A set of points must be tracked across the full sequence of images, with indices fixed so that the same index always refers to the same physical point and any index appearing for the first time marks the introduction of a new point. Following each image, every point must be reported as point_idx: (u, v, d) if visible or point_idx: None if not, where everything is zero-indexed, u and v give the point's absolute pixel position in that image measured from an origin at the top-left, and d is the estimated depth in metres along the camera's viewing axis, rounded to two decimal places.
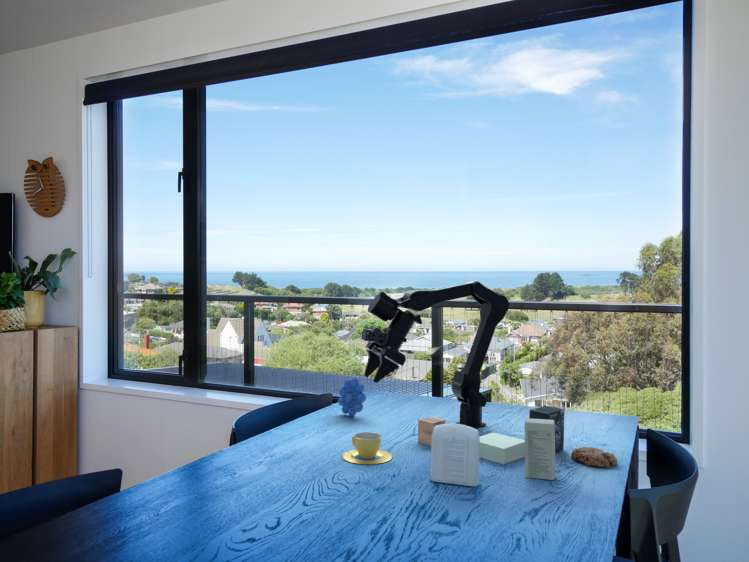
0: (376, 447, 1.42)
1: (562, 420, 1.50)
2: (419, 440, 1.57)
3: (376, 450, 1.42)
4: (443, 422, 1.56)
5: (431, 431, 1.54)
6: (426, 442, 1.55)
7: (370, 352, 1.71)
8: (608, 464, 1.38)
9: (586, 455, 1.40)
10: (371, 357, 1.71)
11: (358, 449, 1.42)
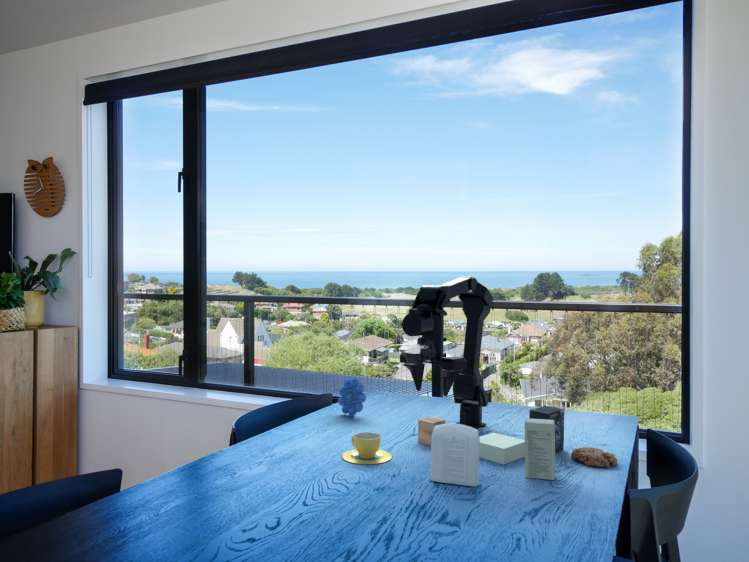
0: (376, 447, 1.42)
1: (562, 420, 1.50)
2: (419, 440, 1.57)
3: (376, 450, 1.42)
4: (443, 422, 1.56)
5: (431, 431, 1.54)
6: (426, 442, 1.55)
7: (412, 366, 1.59)
8: (608, 464, 1.38)
9: (586, 455, 1.40)
10: (414, 370, 1.60)
11: (358, 449, 1.42)
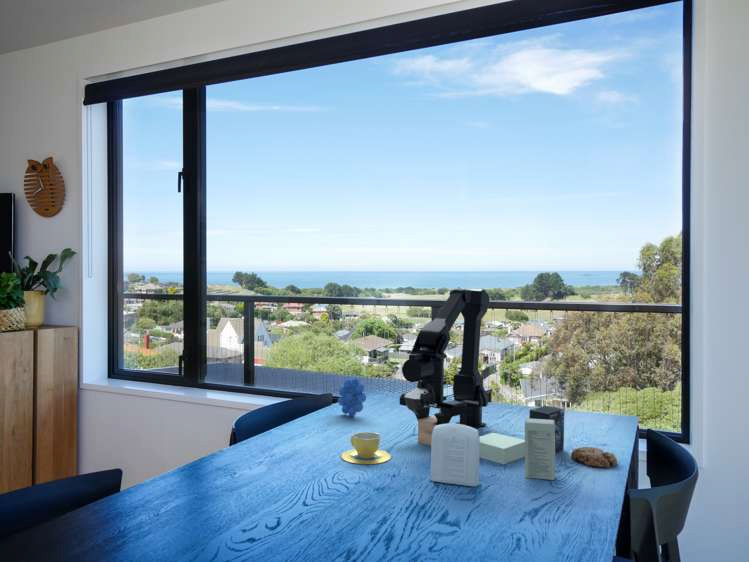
0: (375, 447, 1.42)
1: (562, 420, 1.50)
2: (419, 440, 1.57)
3: (375, 450, 1.42)
4: None
5: (431, 431, 1.54)
6: (426, 442, 1.55)
7: (417, 410, 1.58)
8: (608, 464, 1.38)
9: (586, 455, 1.40)
10: (420, 414, 1.58)
11: (357, 449, 1.42)
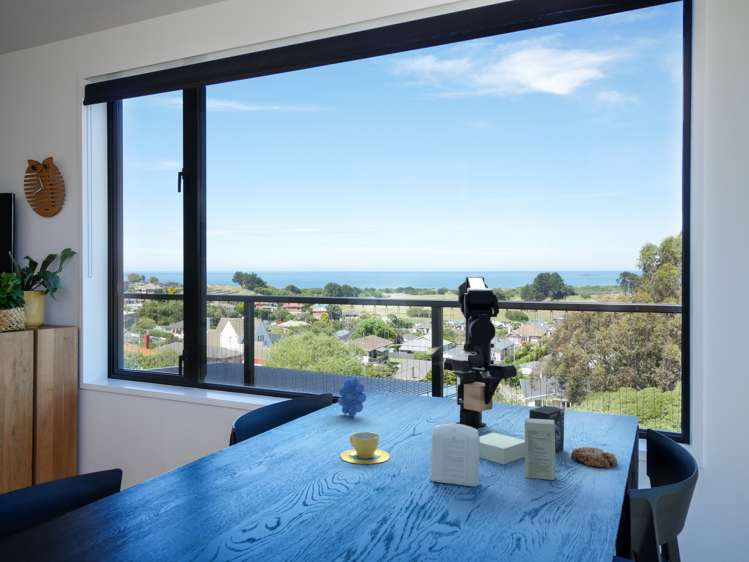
0: (374, 447, 1.42)
1: (562, 420, 1.50)
2: (465, 406, 1.49)
3: (374, 450, 1.42)
4: None
5: (478, 395, 1.46)
6: (473, 407, 1.47)
7: (463, 375, 1.50)
8: (608, 464, 1.38)
9: (586, 455, 1.40)
10: (466, 379, 1.51)
11: (356, 449, 1.42)
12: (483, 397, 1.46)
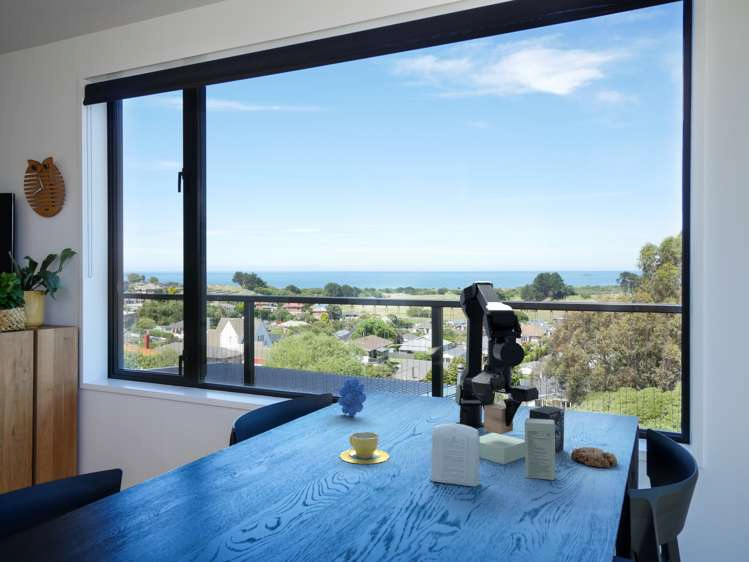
0: (373, 447, 1.42)
1: (562, 420, 1.50)
2: (485, 428, 1.46)
3: (373, 450, 1.42)
4: None
5: (499, 418, 1.43)
6: (493, 430, 1.45)
7: (483, 396, 1.47)
8: (608, 464, 1.38)
9: (586, 455, 1.40)
10: (485, 400, 1.48)
11: (355, 449, 1.43)
12: (504, 419, 1.44)
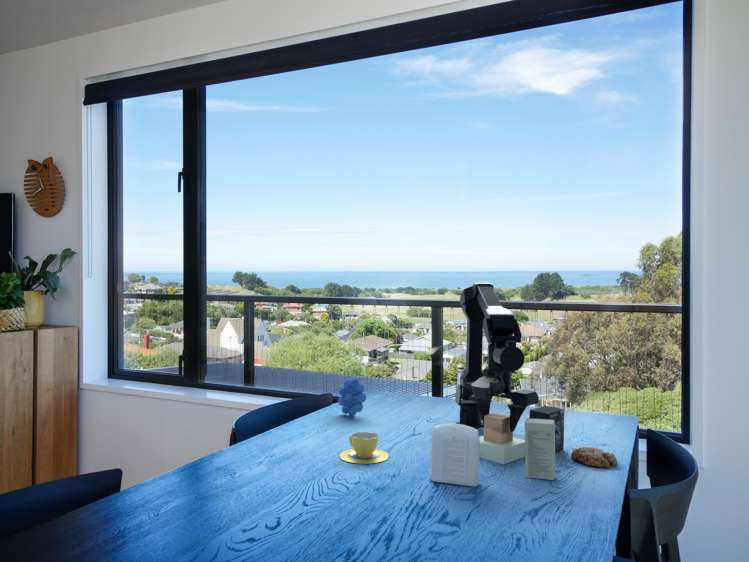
0: (373, 447, 1.42)
1: (562, 420, 1.50)
2: (485, 438, 1.46)
3: (373, 450, 1.42)
4: None
5: (499, 428, 1.43)
6: (493, 440, 1.45)
7: (479, 399, 1.48)
8: (608, 464, 1.38)
9: (586, 455, 1.40)
10: (481, 403, 1.49)
11: (355, 448, 1.43)
12: (504, 429, 1.44)
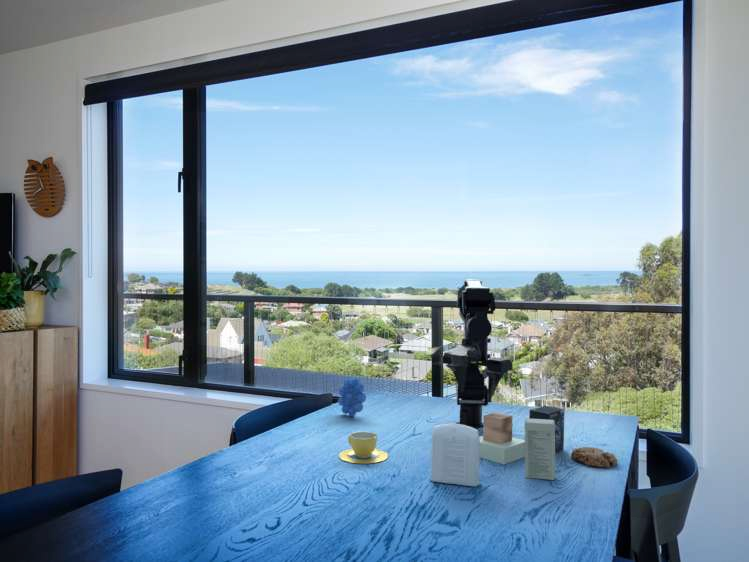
0: (372, 447, 1.42)
1: (562, 420, 1.50)
2: (485, 437, 1.46)
3: (372, 449, 1.43)
4: (510, 418, 1.46)
5: (499, 428, 1.44)
6: (493, 440, 1.45)
7: (455, 367, 1.59)
8: (608, 464, 1.38)
9: (586, 455, 1.40)
10: (458, 371, 1.60)
11: (354, 448, 1.43)
12: (503, 429, 1.44)
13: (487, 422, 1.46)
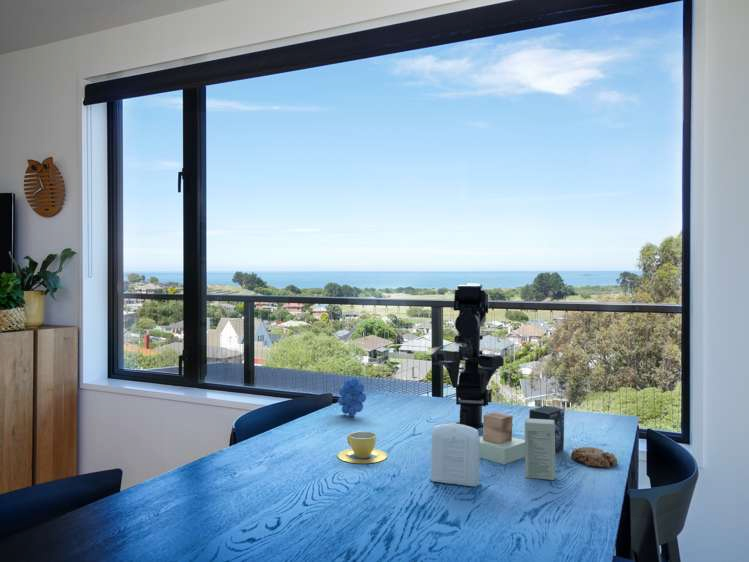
0: (371, 447, 1.42)
1: (562, 420, 1.50)
2: (484, 437, 1.47)
3: (371, 449, 1.43)
4: (510, 418, 1.46)
5: (499, 427, 1.44)
6: (493, 439, 1.45)
7: (448, 364, 1.63)
8: (608, 464, 1.38)
9: (586, 455, 1.40)
10: (451, 367, 1.64)
11: (353, 448, 1.43)
12: (503, 429, 1.44)
13: (487, 422, 1.46)
